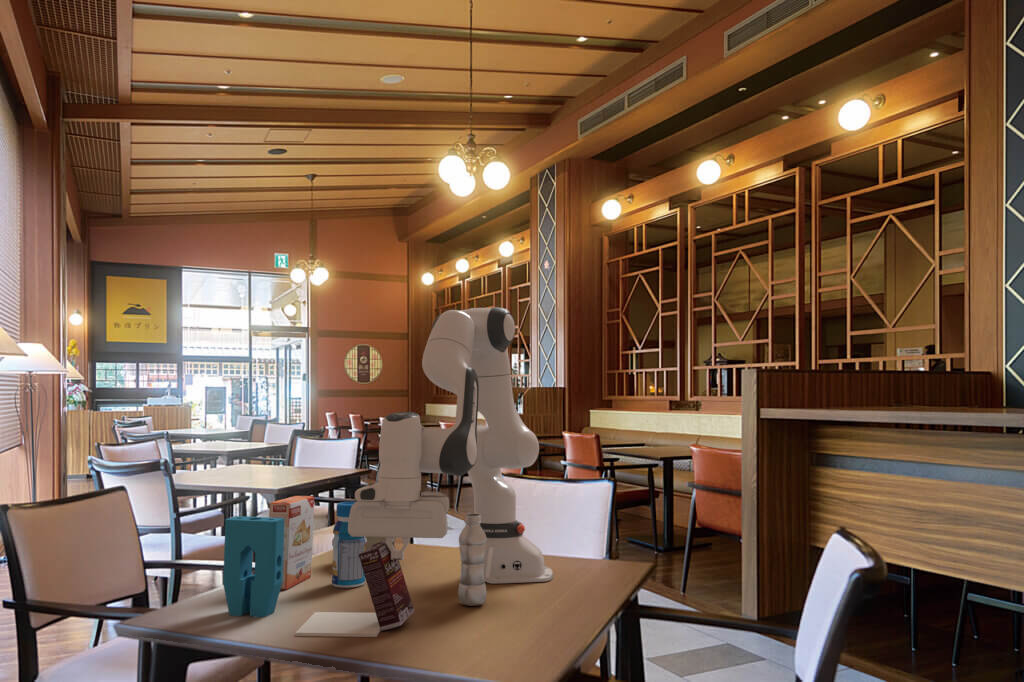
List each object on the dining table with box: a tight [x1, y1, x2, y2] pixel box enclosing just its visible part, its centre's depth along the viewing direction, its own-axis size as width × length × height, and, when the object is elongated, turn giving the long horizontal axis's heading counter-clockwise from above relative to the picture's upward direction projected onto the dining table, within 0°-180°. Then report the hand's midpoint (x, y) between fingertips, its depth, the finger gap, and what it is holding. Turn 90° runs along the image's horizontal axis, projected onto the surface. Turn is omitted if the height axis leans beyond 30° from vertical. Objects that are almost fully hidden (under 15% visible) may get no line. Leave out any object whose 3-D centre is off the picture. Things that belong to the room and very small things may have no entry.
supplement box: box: [359, 541, 415, 632], centre depth 150 cm, size 9×5×16 cm, turn 169°
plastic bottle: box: [457, 513, 488, 607], centre depth 166 cm, size 6×7×20 cm
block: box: [222, 515, 285, 618], centre depth 159 cm, size 12×5×20 cm, turn 79°
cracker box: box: [268, 495, 315, 591], centre depth 185 cm, size 14×6×21 cm, turn 170°
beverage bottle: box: [331, 501, 367, 589], centre depth 184 cm, size 8×8×20 cm
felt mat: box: [294, 611, 382, 638], centre depth 150 cm, size 16×14×1 cm
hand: (397, 559), depth 150 cm, fingers closed
